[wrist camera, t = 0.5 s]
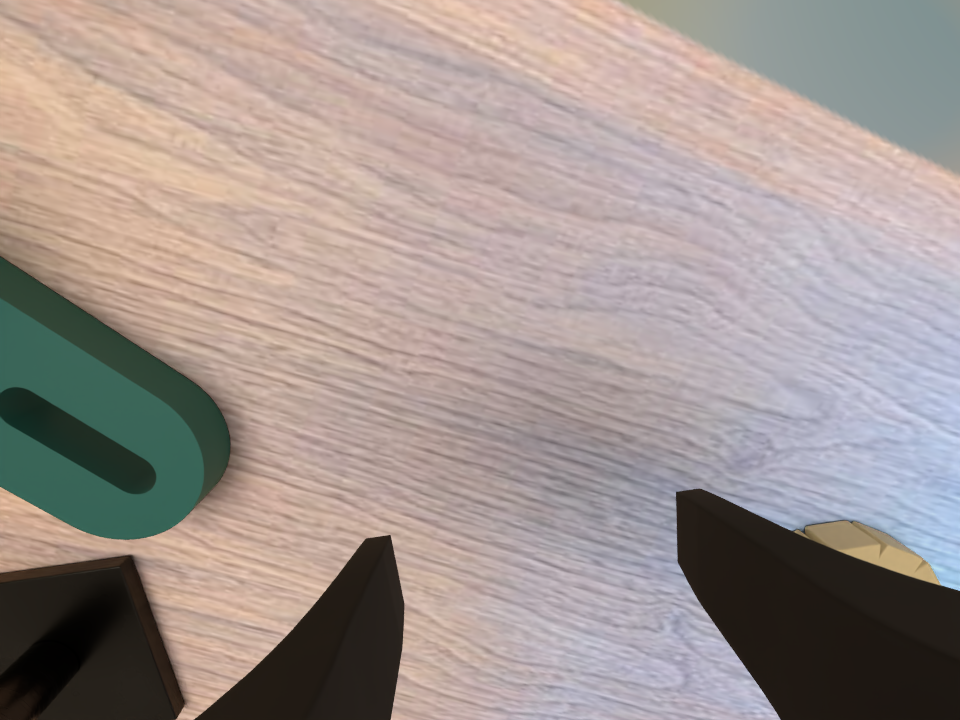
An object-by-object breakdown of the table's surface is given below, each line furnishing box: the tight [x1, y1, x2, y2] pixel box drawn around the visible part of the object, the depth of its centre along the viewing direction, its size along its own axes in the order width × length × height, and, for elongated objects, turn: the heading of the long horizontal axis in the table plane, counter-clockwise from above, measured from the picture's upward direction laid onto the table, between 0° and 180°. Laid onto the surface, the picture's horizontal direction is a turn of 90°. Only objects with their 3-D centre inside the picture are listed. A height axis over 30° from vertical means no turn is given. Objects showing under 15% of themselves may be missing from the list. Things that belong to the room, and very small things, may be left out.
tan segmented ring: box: [794, 520, 941, 585], centre depth 24 cm, size 10×10×2 cm
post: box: [0, 556, 184, 720], centre depth 20 cm, size 9×9×5 cm
